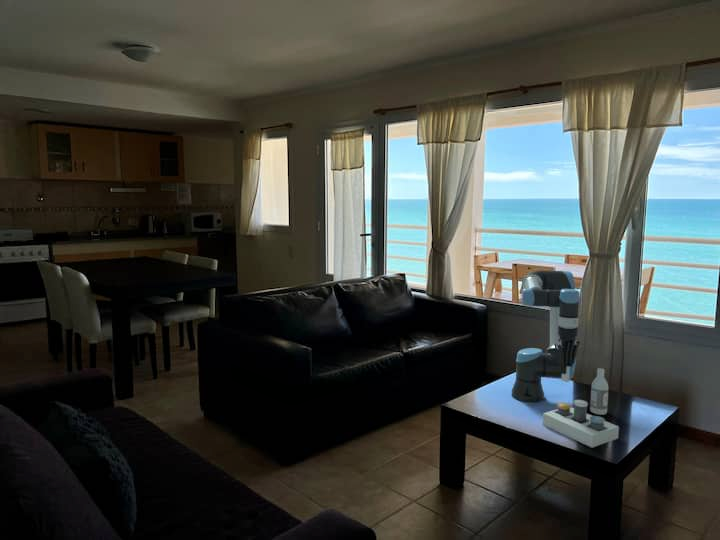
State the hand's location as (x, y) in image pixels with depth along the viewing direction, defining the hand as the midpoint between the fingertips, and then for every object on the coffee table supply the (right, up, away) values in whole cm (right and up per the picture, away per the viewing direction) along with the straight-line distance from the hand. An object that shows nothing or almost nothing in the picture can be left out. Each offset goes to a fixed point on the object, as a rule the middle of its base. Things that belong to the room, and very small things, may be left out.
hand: (565, 380), depth 217 cm
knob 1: (0, -18, +2) cm, 19 cm away
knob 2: (+4, -15, -5) cm, 17 cm away
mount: (+4, -20, -5) cm, 21 cm away
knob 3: (+8, -20, -12) cm, 25 cm away
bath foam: (+21, -17, +15) cm, 31 cm away
